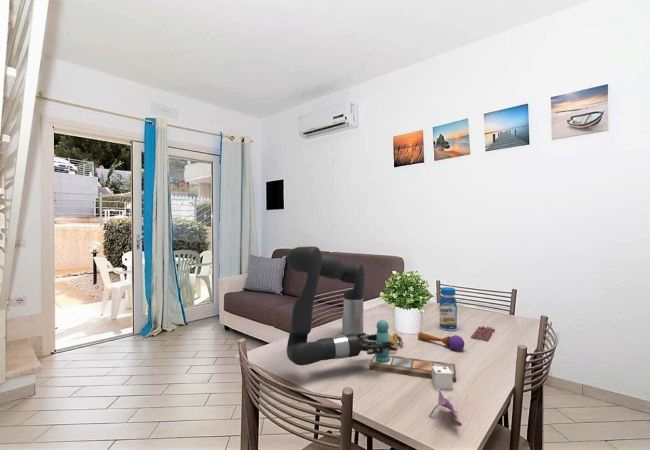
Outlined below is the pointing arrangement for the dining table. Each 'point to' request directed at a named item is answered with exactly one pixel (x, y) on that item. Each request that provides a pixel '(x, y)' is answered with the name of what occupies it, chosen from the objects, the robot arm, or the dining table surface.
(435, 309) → the dining table surface
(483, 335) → the chocolate bar
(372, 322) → the dining table surface
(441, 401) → the lily
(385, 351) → the pawn
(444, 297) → the beverage bottle
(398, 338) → the crab model
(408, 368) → the board
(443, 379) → the die
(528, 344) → the dining table surface
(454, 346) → the kendama
